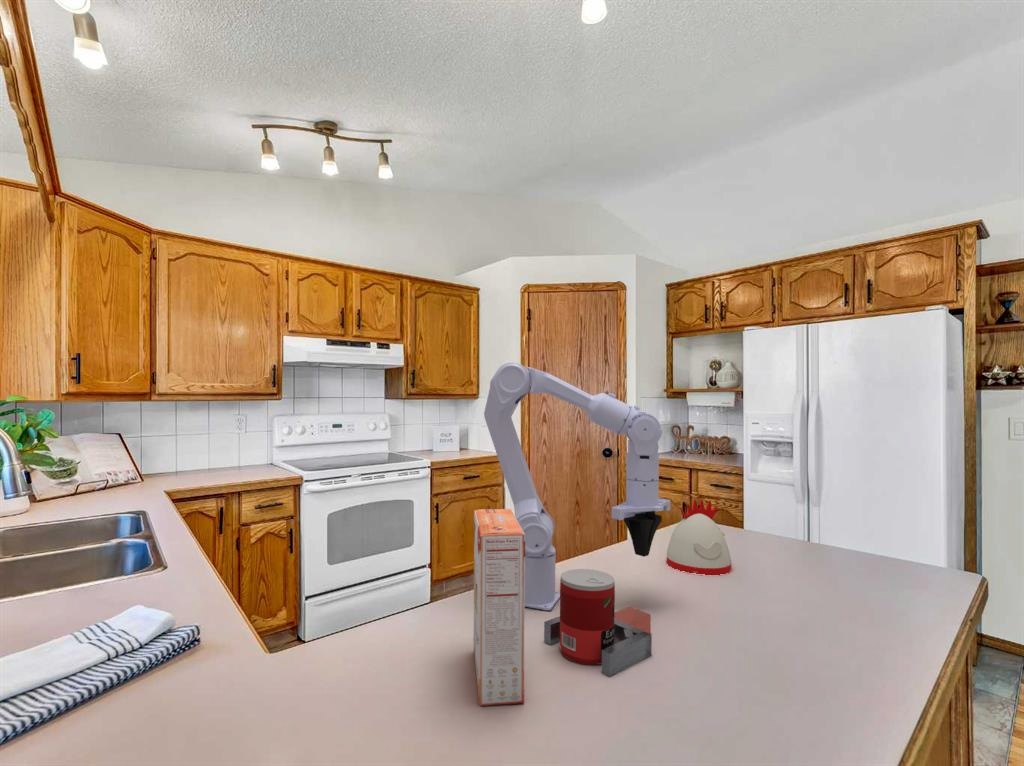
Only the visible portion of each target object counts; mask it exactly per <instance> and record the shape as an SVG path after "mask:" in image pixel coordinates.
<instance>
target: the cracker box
mask: <svg viewBox="0 0 1024 766" xmlns="http://www.w3.org/2000/svg"><path fill="white" fill-rule="evenodd" d="M512 510H513V509H512V508H499V509H498V508H497V509H495V508H479V509H475V510H474V513H473V540H474V541H473V553H474V554H473V655H474V667H475V675H476V686H477V695H478V705H479V707H483V706H484V707H485V706H498V705H513V704H514V705H515V704H524V703H525V618H526V617H525V608H526V607H525V533H524V532H523V530H522V528H521V526H520V524H519V523H518V521H517V519H516V518H515V513H514V512H513V511H512Z"/></svg>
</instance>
